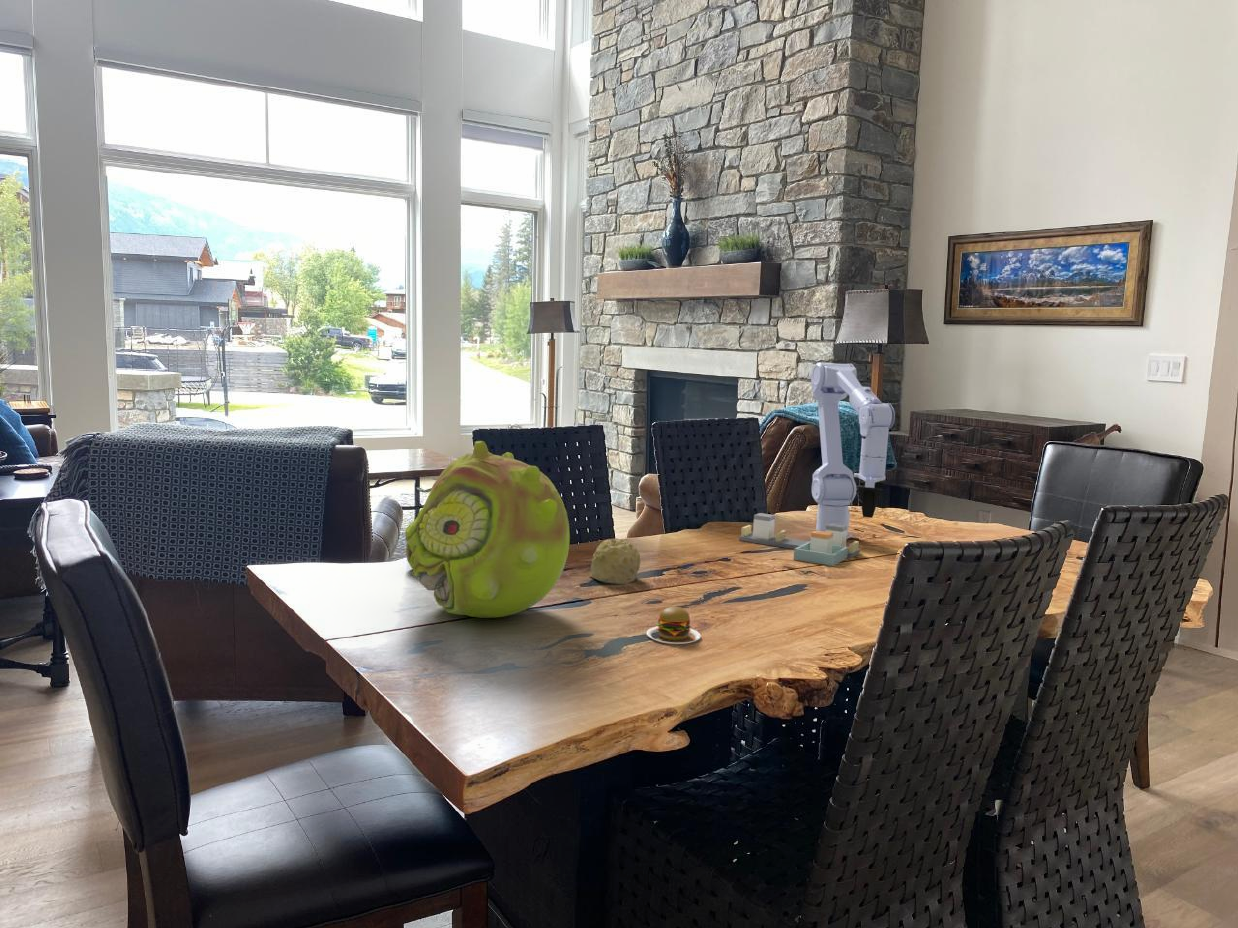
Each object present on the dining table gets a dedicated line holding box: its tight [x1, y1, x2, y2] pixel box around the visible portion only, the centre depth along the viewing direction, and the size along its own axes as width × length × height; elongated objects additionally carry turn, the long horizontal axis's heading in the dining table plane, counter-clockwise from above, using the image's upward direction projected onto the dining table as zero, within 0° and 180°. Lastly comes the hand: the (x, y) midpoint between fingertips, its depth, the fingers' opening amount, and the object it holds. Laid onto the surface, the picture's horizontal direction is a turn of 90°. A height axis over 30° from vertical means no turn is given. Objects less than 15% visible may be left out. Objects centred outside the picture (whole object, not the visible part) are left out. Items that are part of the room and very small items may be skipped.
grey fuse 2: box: [825, 523, 847, 547], centre depth 223 cm, size 4×4×6 cm
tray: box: [793, 540, 849, 567], centre depth 216 cm, size 10×9×2 cm
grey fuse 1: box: [752, 512, 776, 540], centre depth 232 cm, size 4×4×6 cm
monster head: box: [404, 440, 571, 619], centre depth 161 cm, size 31×28×30 cm
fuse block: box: [738, 524, 861, 559], centre depth 227 cm, size 6×28×3 cm, turn 59°
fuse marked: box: [810, 529, 833, 554], centre depth 216 cm, size 4×4×6 cm
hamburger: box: [646, 606, 702, 645], centre depth 155 cm, size 12×12×6 cm
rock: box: [589, 538, 641, 585], centre depth 191 cm, size 10×11×10 cm
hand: (868, 514), depth 219 cm, fingers open, 7 cm apart
